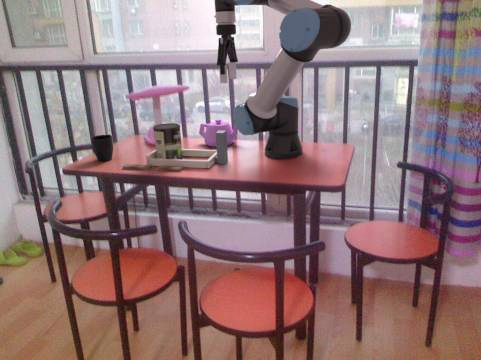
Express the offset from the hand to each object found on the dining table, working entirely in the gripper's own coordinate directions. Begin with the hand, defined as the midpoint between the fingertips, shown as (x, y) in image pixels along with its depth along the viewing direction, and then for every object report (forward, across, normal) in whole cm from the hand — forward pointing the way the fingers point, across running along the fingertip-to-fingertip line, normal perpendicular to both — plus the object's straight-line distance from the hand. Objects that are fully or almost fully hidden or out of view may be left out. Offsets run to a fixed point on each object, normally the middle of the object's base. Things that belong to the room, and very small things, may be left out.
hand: (228, 81), depth 167 cm
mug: (+29, +16, -49) cm, 59 cm away
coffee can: (+29, +17, -21) cm, 39 cm away
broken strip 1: (+29, +27, -30) cm, 49 cm away
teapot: (+29, -10, -8) cm, 32 cm away
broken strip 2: (+29, +27, -16) cm, 43 cm away
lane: (+29, +17, -12) cm, 35 cm away
